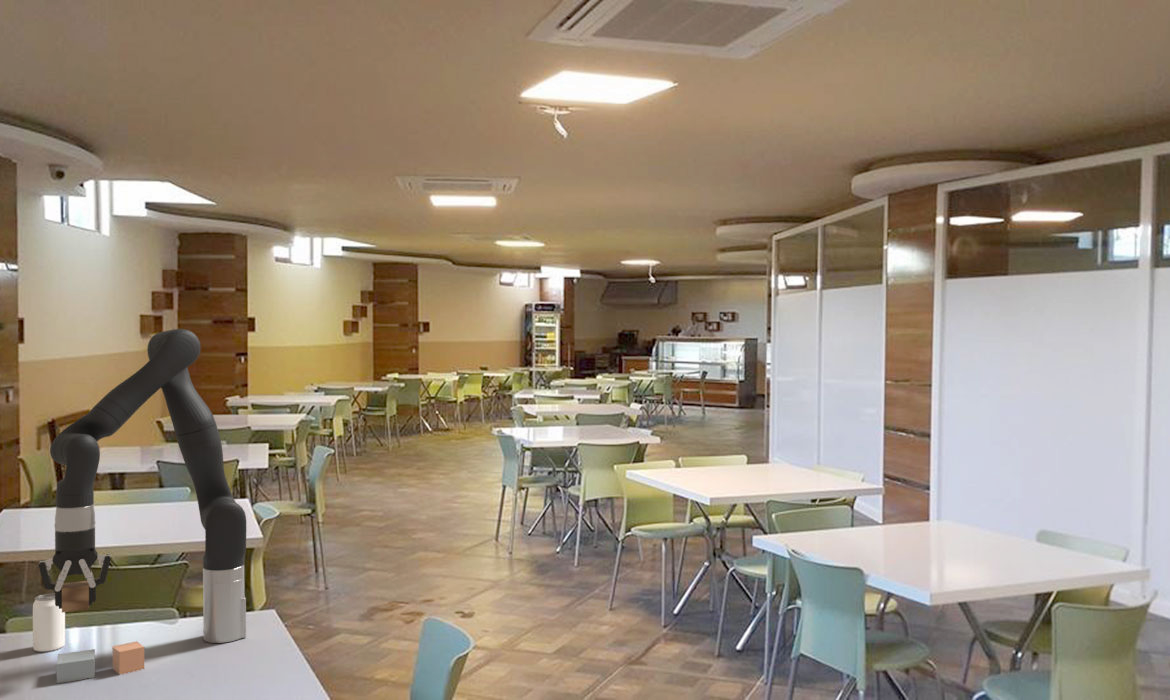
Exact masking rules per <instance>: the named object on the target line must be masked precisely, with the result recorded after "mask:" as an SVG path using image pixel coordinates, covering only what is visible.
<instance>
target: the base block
mask: <svg viewBox="0 0 1170 700" xmlns="http://www.w3.org/2000/svg"><path fill="white" fill-rule="evenodd" d="M95 652H96V649H95V648H92V649H87V650H86V649H85V650H79V651H72V652H65V653H58V654H57V660H56V684H61V683H68V682H74V681H76V682H77V681H80V680H81V681H82V680H88V679H87V678H89V679H94V677H96V655H95Z"/></svg>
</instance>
